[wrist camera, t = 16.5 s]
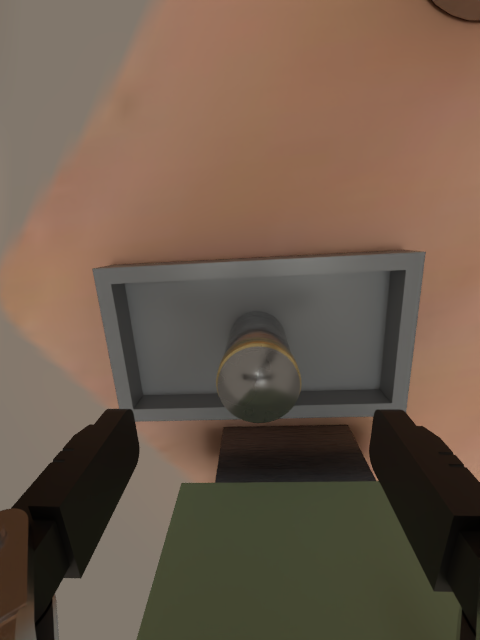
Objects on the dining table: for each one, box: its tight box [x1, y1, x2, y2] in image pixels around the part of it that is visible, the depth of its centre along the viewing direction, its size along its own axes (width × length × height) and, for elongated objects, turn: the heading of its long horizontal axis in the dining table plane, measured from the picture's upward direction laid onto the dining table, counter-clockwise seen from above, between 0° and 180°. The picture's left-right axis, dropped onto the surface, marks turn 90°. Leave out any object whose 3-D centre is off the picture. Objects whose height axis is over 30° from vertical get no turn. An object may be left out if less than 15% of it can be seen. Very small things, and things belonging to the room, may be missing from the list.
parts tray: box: [92, 250, 426, 422], centre depth 20 cm, size 11×20×2 cm, turn 93°
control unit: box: [137, 425, 460, 640], centre depth 15 cm, size 5×14×18 cm, turn 93°
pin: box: [216, 311, 301, 423], centre depth 17 cm, size 4×4×7 cm
